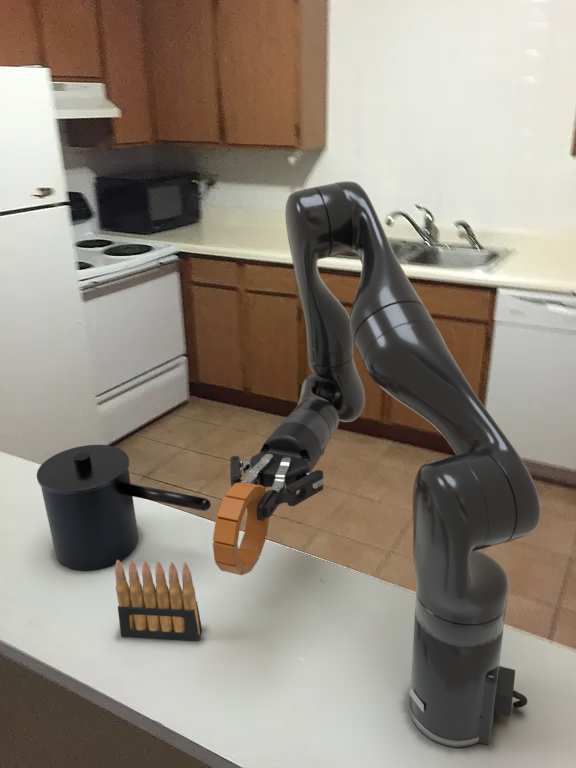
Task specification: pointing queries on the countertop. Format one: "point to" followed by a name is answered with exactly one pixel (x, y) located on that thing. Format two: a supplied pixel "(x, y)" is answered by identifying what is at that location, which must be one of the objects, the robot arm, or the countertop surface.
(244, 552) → the bracelet
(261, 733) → the countertop surface
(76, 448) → the saucepan
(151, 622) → the ammunition clip
